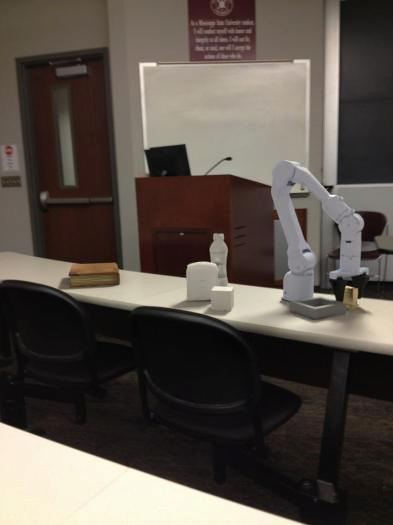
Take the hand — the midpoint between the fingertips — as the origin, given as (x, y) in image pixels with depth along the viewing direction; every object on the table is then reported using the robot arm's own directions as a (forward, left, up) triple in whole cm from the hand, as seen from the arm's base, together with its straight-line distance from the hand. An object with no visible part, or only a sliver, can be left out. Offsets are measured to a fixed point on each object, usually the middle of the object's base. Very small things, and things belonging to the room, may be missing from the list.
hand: (348, 300), depth 132 cm
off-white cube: (-19, -33, -2) cm, 38 cm away
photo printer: (-31, -33, -2) cm, 45 cm away
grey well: (0, -13, -2) cm, 13 cm away
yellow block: (0, 0, -2) cm, 2 cm away
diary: (-82, -53, -3) cm, 97 cm away
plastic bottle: (-40, -21, -2) cm, 45 cm away
